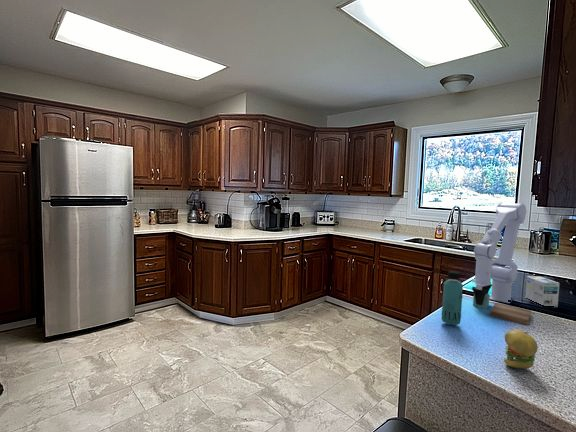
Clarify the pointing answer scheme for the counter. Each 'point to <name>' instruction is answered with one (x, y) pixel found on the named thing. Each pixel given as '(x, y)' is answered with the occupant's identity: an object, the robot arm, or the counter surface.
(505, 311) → the walnut base
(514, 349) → the hamburger
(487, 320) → the counter surface
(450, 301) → the beverage bottle
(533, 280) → the light bulb box
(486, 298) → the teal cube
